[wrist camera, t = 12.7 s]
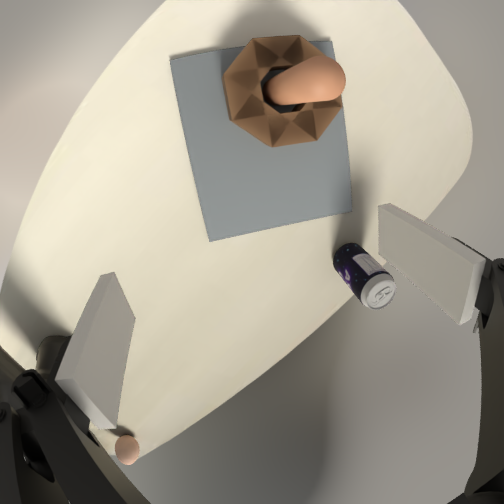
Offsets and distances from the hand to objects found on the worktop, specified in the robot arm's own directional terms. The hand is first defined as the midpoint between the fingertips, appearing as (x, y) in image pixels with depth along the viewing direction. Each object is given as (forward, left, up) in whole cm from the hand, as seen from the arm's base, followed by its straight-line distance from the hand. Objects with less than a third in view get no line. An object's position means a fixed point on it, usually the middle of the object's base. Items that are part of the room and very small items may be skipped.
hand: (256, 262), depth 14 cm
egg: (-40, -59, -28) cm, 77 cm away
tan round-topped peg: (+9, +9, -27) cm, 30 cm away
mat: (+7, +3, -28) cm, 29 cm away
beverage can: (+17, -18, -28) cm, 38 cm away
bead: (+9, +9, -27) cm, 30 cm away
